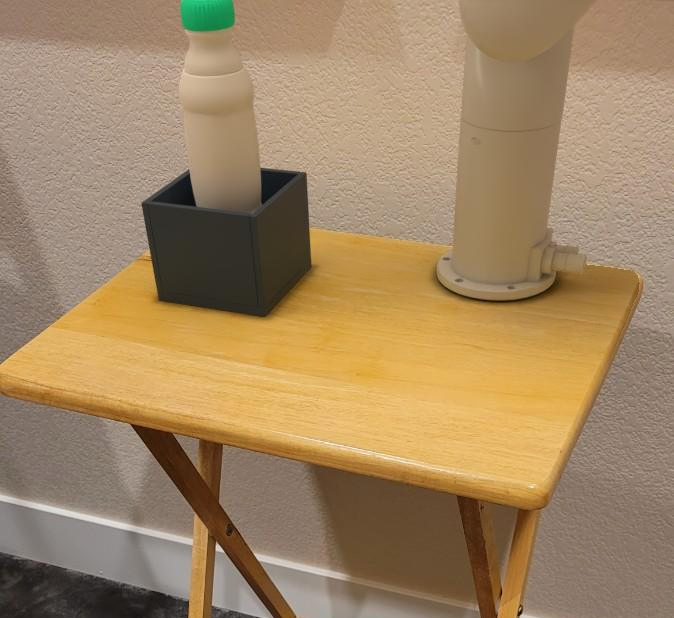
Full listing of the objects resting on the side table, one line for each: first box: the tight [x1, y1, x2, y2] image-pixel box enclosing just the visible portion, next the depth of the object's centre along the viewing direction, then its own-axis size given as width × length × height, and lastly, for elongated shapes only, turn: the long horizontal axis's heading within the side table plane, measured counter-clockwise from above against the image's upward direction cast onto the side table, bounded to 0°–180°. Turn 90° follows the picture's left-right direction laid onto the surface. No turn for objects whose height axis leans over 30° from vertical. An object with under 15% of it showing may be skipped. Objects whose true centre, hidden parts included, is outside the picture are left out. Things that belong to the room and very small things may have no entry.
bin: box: [140, 167, 313, 318], centre depth 92 cm, size 12×12×10 cm
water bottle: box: [177, 0, 262, 214], centre depth 86 cm, size 7×7×25 cm
